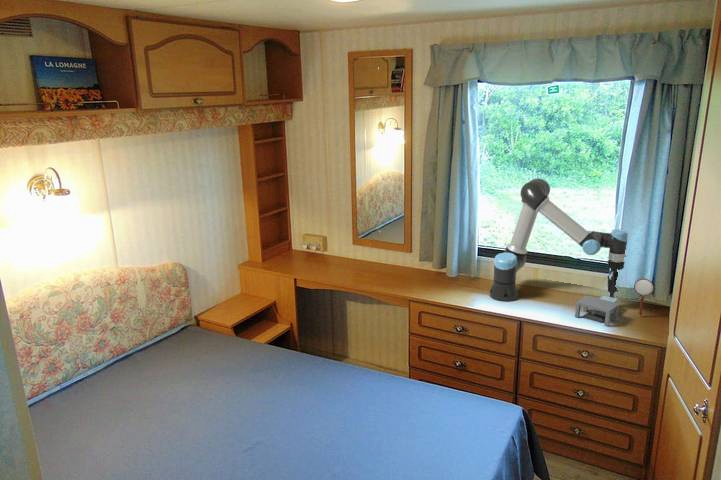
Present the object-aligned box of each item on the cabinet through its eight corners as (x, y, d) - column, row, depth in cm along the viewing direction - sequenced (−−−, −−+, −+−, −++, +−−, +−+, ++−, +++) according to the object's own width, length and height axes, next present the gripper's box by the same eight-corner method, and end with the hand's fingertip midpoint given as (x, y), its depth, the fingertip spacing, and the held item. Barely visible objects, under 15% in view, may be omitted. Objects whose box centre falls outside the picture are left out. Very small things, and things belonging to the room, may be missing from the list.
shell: (602, 306, 275) (603, 295, 273) (616, 309, 270) (618, 298, 268) (593, 313, 266) (594, 302, 265) (607, 317, 262) (608, 305, 260)
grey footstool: (574, 317, 262) (576, 301, 260) (584, 310, 270) (586, 295, 268) (607, 326, 252) (609, 310, 249) (617, 319, 259) (619, 303, 257)
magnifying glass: (649, 317, 260) (655, 279, 254) (649, 319, 258) (655, 280, 253) (630, 314, 264) (635, 276, 259) (629, 315, 263) (635, 277, 257)
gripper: (619, 264, 259) (614, 309, 266) (628, 258, 268) (623, 301, 275) (603, 261, 265) (598, 305, 271) (613, 255, 273) (608, 297, 280)
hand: (611, 303), depth 273 cm, fingers closed
